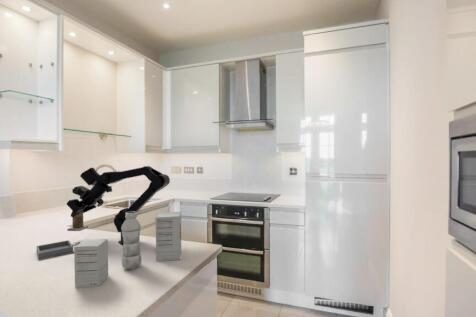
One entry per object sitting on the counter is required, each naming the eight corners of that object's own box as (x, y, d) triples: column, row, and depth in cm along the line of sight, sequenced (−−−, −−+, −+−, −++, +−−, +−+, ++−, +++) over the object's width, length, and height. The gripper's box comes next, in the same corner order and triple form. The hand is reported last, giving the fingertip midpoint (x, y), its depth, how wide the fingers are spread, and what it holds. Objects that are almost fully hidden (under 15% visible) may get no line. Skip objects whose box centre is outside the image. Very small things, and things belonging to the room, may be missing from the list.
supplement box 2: (180, 260, 99) (179, 216, 99) (155, 261, 97) (155, 217, 97) (181, 251, 108) (181, 211, 108) (159, 252, 107) (158, 212, 107)
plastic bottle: (134, 272, 88) (134, 214, 88) (117, 270, 90) (116, 213, 90) (145, 264, 95) (144, 210, 95) (128, 263, 96) (128, 210, 96)
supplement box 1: (86, 276, 85) (85, 239, 85) (109, 275, 86) (108, 238, 86) (73, 287, 78) (73, 246, 78) (99, 286, 79) (98, 245, 79)
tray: (73, 252, 109) (73, 246, 109) (38, 259, 101) (38, 253, 101) (68, 245, 117) (68, 240, 117) (36, 251, 110) (36, 246, 110)
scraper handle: (88, 227, 125) (87, 203, 125) (79, 231, 119) (79, 205, 119) (76, 227, 126) (76, 203, 126) (67, 230, 120) (67, 205, 120)
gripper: (97, 178, 131) (78, 200, 133) (70, 182, 113) (47, 207, 114) (112, 194, 130) (92, 215, 132) (87, 200, 112) (64, 224, 113)
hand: (75, 215), depth 123 cm, fingers closed on scraper handle, 4 cm apart
